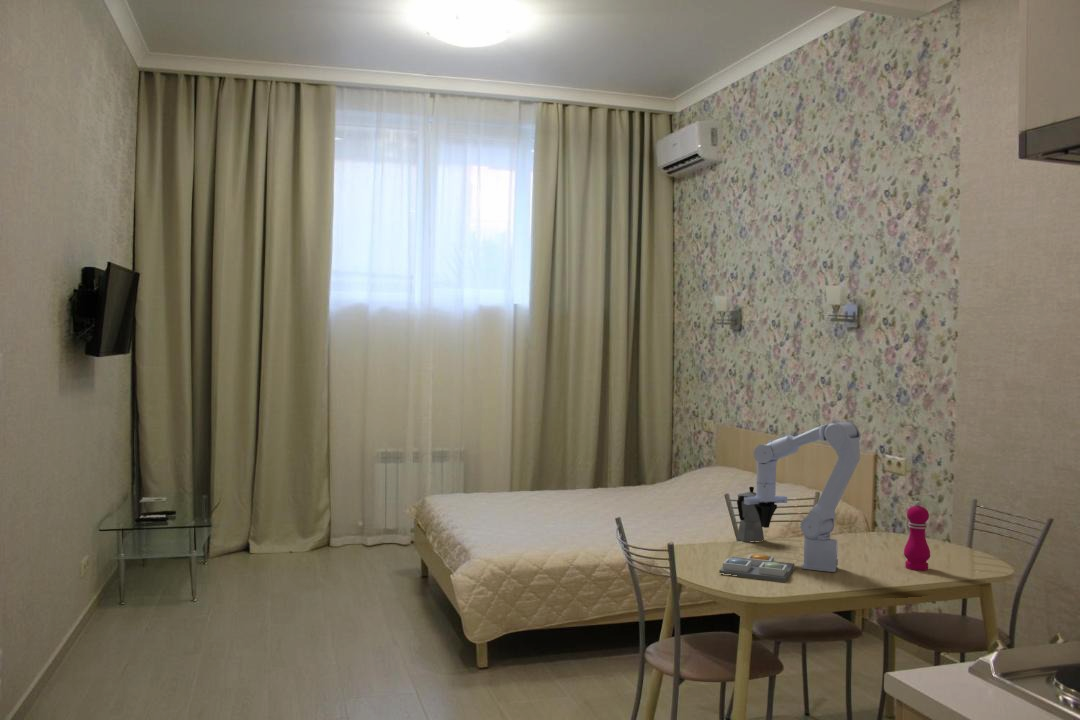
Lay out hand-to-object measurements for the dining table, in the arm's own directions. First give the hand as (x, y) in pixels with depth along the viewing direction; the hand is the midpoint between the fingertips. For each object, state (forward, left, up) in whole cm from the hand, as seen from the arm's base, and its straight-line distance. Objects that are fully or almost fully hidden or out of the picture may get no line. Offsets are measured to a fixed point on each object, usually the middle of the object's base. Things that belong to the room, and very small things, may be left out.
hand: (765, 527), depth 268 cm
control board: (-1, +19, -9) cm, 21 cm away
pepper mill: (-43, -8, -10) cm, 45 cm away
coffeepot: (+9, -24, -10) cm, 27 cm away
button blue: (+4, +23, -8) cm, 25 cm away
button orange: (-1, +14, -8) cm, 16 cm away
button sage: (-6, +23, -8) cm, 25 cm away
